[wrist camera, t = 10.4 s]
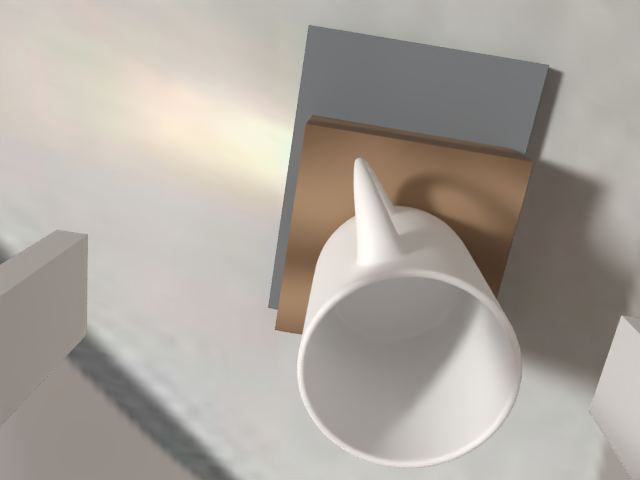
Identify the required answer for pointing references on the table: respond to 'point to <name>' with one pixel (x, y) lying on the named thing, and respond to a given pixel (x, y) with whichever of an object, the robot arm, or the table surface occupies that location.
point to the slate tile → (408, 99)
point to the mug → (404, 338)
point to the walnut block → (400, 196)
